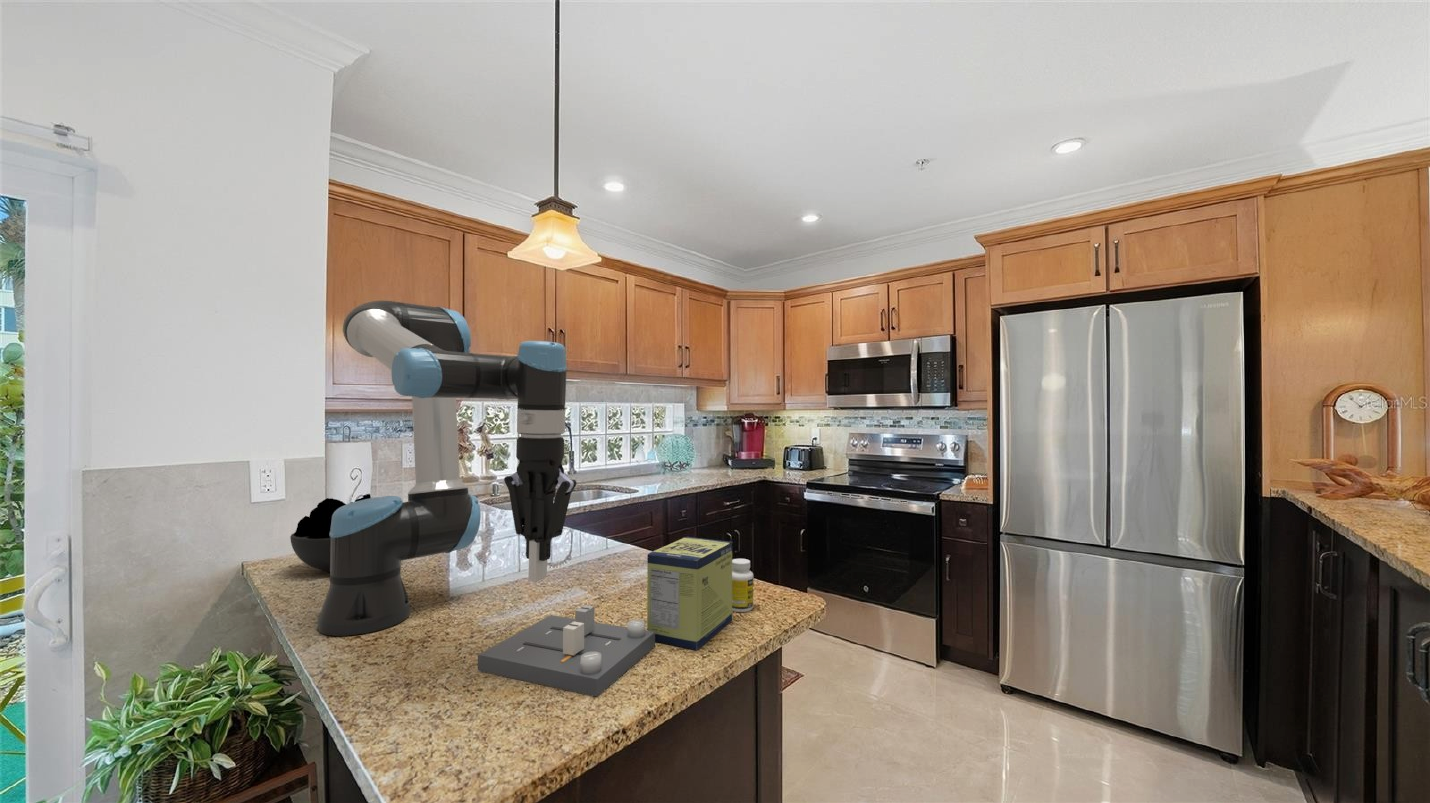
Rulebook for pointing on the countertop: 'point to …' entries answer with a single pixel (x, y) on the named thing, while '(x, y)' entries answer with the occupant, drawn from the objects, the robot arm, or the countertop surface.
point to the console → (585, 672)
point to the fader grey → (585, 618)
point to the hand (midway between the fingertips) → (537, 578)
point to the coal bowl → (317, 534)
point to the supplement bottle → (742, 586)
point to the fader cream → (573, 638)
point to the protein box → (689, 591)
